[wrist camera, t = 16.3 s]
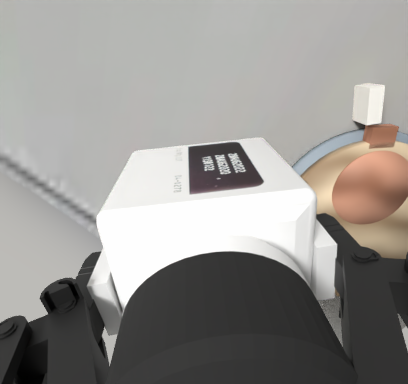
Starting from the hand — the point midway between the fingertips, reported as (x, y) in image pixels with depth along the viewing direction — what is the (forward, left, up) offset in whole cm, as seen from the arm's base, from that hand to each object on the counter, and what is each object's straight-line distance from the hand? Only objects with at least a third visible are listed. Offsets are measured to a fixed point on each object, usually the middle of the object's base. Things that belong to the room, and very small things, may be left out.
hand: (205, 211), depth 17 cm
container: (0, 0, -1) cm, 1 cm away
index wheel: (+15, +20, -18) cm, 31 cm away
